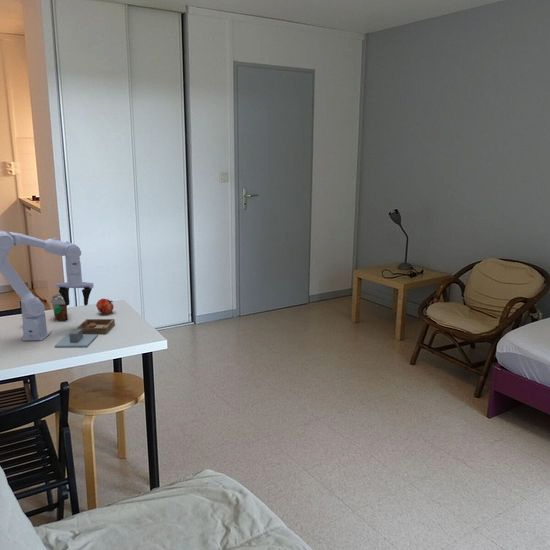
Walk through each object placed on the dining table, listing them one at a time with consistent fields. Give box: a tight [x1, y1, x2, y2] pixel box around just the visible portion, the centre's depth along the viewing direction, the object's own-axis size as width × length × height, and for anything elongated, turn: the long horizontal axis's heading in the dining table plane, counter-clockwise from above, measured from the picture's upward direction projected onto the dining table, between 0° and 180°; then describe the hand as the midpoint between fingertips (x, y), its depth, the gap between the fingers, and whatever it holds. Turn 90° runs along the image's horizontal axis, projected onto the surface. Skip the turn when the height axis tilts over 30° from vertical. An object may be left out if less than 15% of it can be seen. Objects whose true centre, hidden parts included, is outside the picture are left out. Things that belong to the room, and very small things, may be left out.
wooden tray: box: [75, 318, 116, 335], centre depth 221 cm, size 12×12×2 cm
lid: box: [54, 328, 99, 348], centre depth 206 cm, size 12×12×5 cm
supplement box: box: [20, 297, 41, 324], centre depth 225 cm, size 6×6×12 cm
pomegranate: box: [95, 298, 115, 315], centre depth 241 cm, size 7×7×10 cm
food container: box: [50, 293, 69, 322], centre depth 234 cm, size 12×6×10 cm, turn 25°
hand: (76, 304), depth 219 cm, fingers open, 7 cm apart
